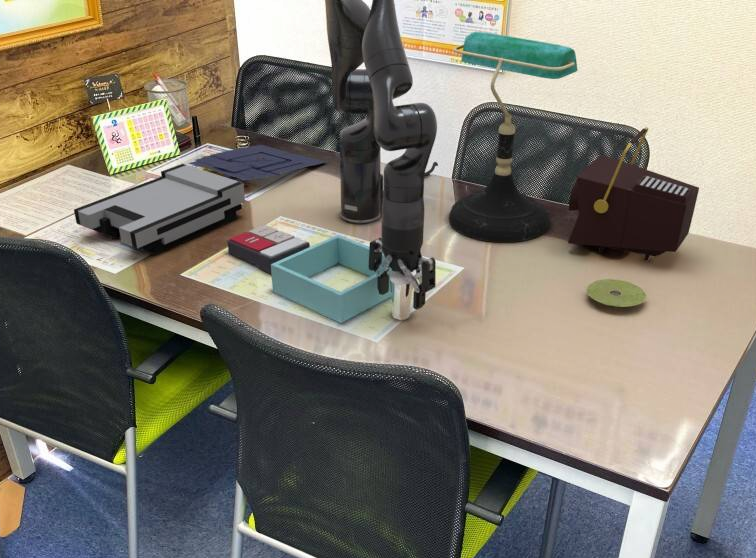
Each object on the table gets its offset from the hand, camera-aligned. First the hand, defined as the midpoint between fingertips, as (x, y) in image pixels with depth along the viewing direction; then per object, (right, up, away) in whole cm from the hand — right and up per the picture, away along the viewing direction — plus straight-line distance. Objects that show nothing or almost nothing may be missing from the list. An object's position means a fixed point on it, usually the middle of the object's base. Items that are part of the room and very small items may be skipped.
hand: (400, 300), depth 163 cm
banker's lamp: (+25, +22, +38) cm, 51 cm away
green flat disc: (+42, 0, +7) cm, 43 cm away
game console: (-52, +21, +37) cm, 67 cm away
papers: (-35, +42, +67) cm, 86 cm away
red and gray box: (-27, +12, +24) cm, 38 cm away
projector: (+50, +14, +25) cm, 58 cm away
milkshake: (0, -3, +2) cm, 4 cm away
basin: (-12, +3, +11) cm, 16 cm away
